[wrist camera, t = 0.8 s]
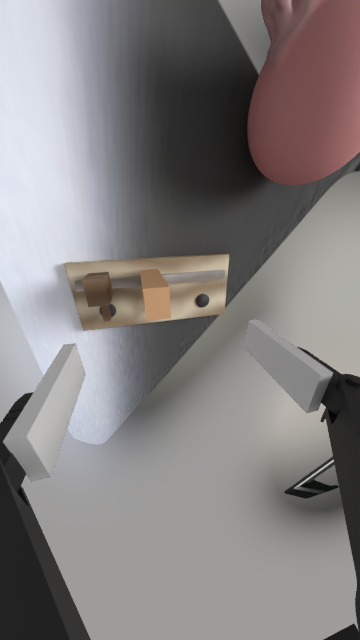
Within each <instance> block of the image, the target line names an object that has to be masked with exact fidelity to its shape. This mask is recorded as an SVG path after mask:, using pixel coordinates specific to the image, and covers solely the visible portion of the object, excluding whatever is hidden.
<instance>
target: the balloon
mask: <svg viewBox="0 0 360 640" xmlns="http://www.w3.org/2000/svg"><path fill="white" fill-rule="evenodd" d="M261 9H262V15H263V19H264V22H265V25H266V27H267V30H268V33H269V36H270V40H271V45H270V48H269V50H268V54H267V59H266V62H265V64H264V66H263V68H262V70H261V72H260V75H259V77H258V80H257V82H256V85H255V88H254V91H253V95H252V99H251V103H250V108H249V114H248V124H247V135H248V144H249V149H250V153H251V156H252V159H253V161H254V163H255V165H256V166H257V168H258V169H259V171H260V172H261V173H262V174H263V175H264V176H265V177H267V178H268V179H270V180H271V181H273V182H276V183H279V184H282V185H303V184H307V183H311V182H314V181H317V180H319V179H322V178H324V177H326V176H328V175H330V174H331V173H333V172H335V171H336V170H338V169H339V168H341V167H342V166H343V165H345V164H346V163H347V162H349V161H350V160H351V159H352V158H353V157H355V156H356V155H357V154H358V153H359V152H360V0H261Z"/></svg>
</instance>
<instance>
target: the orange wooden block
mask: <svg viewBox="0 0 360 640" xmlns="http://www.w3.org/2000/svg"><path fill="white" fill-rule="evenodd" d="M140 275H141V284H142V292H143V299H144V307H145V314H146V321H151V320H160V319H168V318H171V310H170V291H169V286H168V284H167V282H166V281H165V279H164V278H163V276H162V275H161V273H160V271H159V270H158V269H148V270H140Z"/></svg>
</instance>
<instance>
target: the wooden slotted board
mask: <svg viewBox="0 0 360 640" xmlns="http://www.w3.org/2000/svg"><path fill="white" fill-rule="evenodd" d="M228 263H229V254H209V255H191V256H174V257H156V258H138V259H121V260H103V261H85V262H68V263H65V264H64V265H65V268H66V272H67V275H68V279H69V282H70V286H71V289H72V293H73V296H74V300H75V303H76V307H77V310H78V314H79V317H80V320H81V324H82V327H83V331H85V330H94V329H102V328H110V327H118V326H127V325H135V324H143V323H152V322H160V321H168V320H176V319H185V318H193V317H201V316H210V315H218V314H224V311H225V299H226V287H227V275H228ZM148 269H158V270H159V271H160V273H161V275H162V276H163V278H164V279H165V281H166V282H167V284H168V286H169V291H170V310H171V318H168V319H160V320H151V321H146V314H145V307H144V299H143V292H142V284H141V275H140V270H148Z"/></svg>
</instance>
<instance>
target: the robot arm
mask: <svg viewBox="0 0 360 640" xmlns="http://www.w3.org/2000/svg"><path fill="white" fill-rule="evenodd" d="M245 349H246V350H247V351H248V352H249V354H250V355H251V356H253V358H254V359H255V360H256V361H257V362H258V363H259V364H260V365H261V366H262V367H263V368H264V369H265V370H266V371H267V372H268V373H269V374H270V375H271V377H272V378H273V379H274V380H275V381H276V382H277V383H278V384H279V385H280V386H281V387H282V388H283V389H284V390H285V391H286V392H287V393H288V394H289V395H290V396H291V397H292V399H293V400H294V401H295V402H296V403H297V404H298V405H299V406H300V407H301V408H302V409H303V410H304V411H305V412H306V413H309V412H313V411H317V410H318V409H319V406H320V404H321V403H322V404H323V405H325V406H326V409H325V411H324V413H323V415H322V418H321V422H323V421H324V419H326V421H327V426H328V432H329V437H330V442H331V447H332V452H333V458H334V463H335V468H336V473H337V478H338V483H339V488H340V493H341V499H342V504H343V509H344V514H345V520H346V525H347V530H348V535H349V540H350V545H351V550H352V556H353V561H354V566H355V571H356V577H357V591H356V598H355V606H356V617H357V623H358V629H359V631H358V629H357V628H356V626H355V624H352V625H350V626H349V627H347V628H345V629H343V630H341V631H339V632H337V633H335V634H334V635H331V636H329V637H328V638H326V639H324V640H360V377H357V376H354V375H350V374H340V373H339V372H337V371H336V370H334V369H333V368H332V367H330V366H329V365H327V364H326V363H324V362H323V361H321V360H319V359H318V358H317V357H315V356H314V355H313V354H311V353H309V352H308V351H307V350H304V349H302V348H300V347H296V346H294V345H293V344H291V343H290V342H289V341H287V340H286V339H285V338H283V337H282V336H280V335H279V334H277V333H276V332H275V331H273V330H272V329H270V328H269V327H267V326H266V325H264V324H263V323H262V322H260V321H259V320H250V321H249V324H248V331H247V338H246V345H245ZM85 375H86V374H85V371H84V368H83V365H82V362H81V358H80V355H79V352H78V349H77V346H76V343H74V344H67V345H63V347H62V348H61V350H60V351H59V353H58V355H57V356H56V358H55V359H54V361H53V363H52V364H51V366H50V367H49V369H48V370H47V372H46V374H45V375H44V377H43V378H42V380H41V382H40V383H39V385H38V386H37V388H36V390H35V391H34V392H33V393H27V394H24V395H23V396H22V397H21V398H20V399H18V400H17V401H16V402H15V403H14V405H13V406H12V407H11V409H10V410H9V413H8V414H7V415H6V416H5V418H4V419H3V422H1V423H0V640H91V639H90V637H89V635H88V633H87V631H86V628H85V626H84V624H83V621H82V619H81V617H80V615H79V612H78V610H77V608H76V606H75V604H74V601H73V599H72V597H71V595H70V592H69V590H68V588H67V586H66V583H65V581H64V579H63V577H62V574H61V572H60V570H59V568H58V566H57V563H56V561H55V559H54V557H53V554H52V552H51V550H50V548H49V546H48V543H47V541H46V539H45V536H44V534H43V532H42V530H41V527H40V525H39V523H38V521H37V518H36V516H35V514H34V512H33V509H32V508H31V505H30V503H29V501H28V498H27V496H26V494H25V492H24V489H23V488H22V487H21V484H22V482H23V480H24V477H25V475H27V477H28V478H29V480H30V481H31V482H32V481H36V480H39V479H44V478H48V477H51V474H52V471H53V469H54V466H55V463H56V460H57V457H58V454H59V451H60V448H61V445H62V442H63V439H64V436H65V433H66V430H67V427H68V425H69V422H70V419H71V416H72V413H73V410H74V407H75V404H76V401H77V398H78V395H79V392H80V389H81V386H82V383H83V381H84V378H85Z"/></svg>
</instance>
